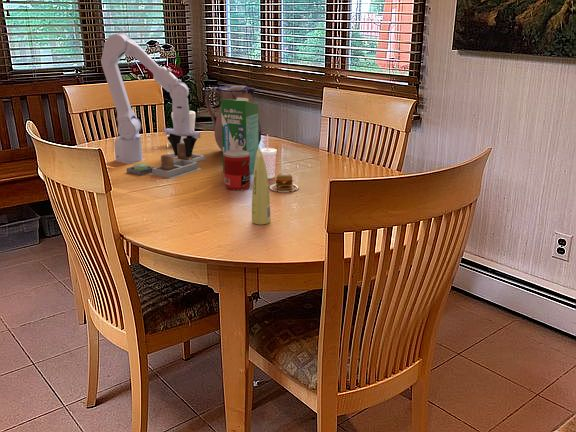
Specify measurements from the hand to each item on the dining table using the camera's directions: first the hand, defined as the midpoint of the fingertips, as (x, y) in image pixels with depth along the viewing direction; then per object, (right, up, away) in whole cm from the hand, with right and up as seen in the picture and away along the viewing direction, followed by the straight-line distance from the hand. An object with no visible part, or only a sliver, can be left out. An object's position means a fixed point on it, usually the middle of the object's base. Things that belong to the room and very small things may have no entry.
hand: (183, 155), depth 208 cm
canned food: (+22, -13, -28) cm, 38 cm away
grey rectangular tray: (0, -8, -15) cm, 16 cm away
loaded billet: (-2, -8, -18) cm, 19 cm away
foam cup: (-4, +7, +27) cm, 29 cm away
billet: (0, -1, +1) cm, 2 cm away
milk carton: (+22, -7, -11) cm, 25 cm away
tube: (+31, -23, -57) cm, 68 cm away
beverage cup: (+31, -9, -16) cm, 36 cm away
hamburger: (+37, -14, -29) cm, 48 cm away
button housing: (-11, -8, -15) cm, 21 cm away
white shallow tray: (0, -2, +1) cm, 2 cm away
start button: (-11, -8, -16) cm, 21 cm away
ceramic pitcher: (+17, +2, +13) cm, 22 cm away
